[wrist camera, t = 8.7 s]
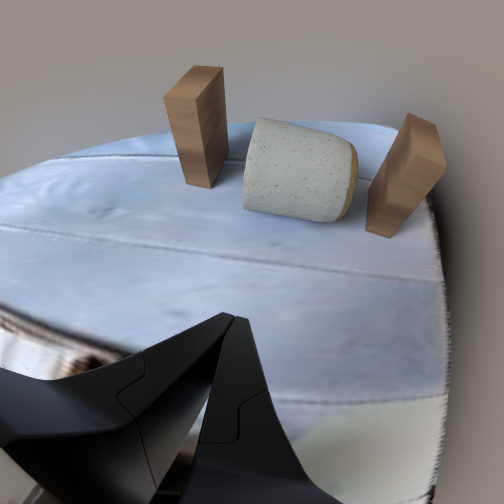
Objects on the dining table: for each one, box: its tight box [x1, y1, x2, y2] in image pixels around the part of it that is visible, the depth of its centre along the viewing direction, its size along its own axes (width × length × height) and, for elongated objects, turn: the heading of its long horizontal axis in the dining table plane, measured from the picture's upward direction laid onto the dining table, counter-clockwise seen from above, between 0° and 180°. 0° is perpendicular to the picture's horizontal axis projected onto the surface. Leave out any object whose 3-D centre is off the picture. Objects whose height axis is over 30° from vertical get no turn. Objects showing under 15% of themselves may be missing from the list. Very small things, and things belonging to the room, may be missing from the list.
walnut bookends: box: [163, 66, 447, 238], centre depth 21 cm, size 5×20×10 cm, turn 73°
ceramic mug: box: [242, 118, 358, 222], centre depth 22 cm, size 11×8×8 cm
